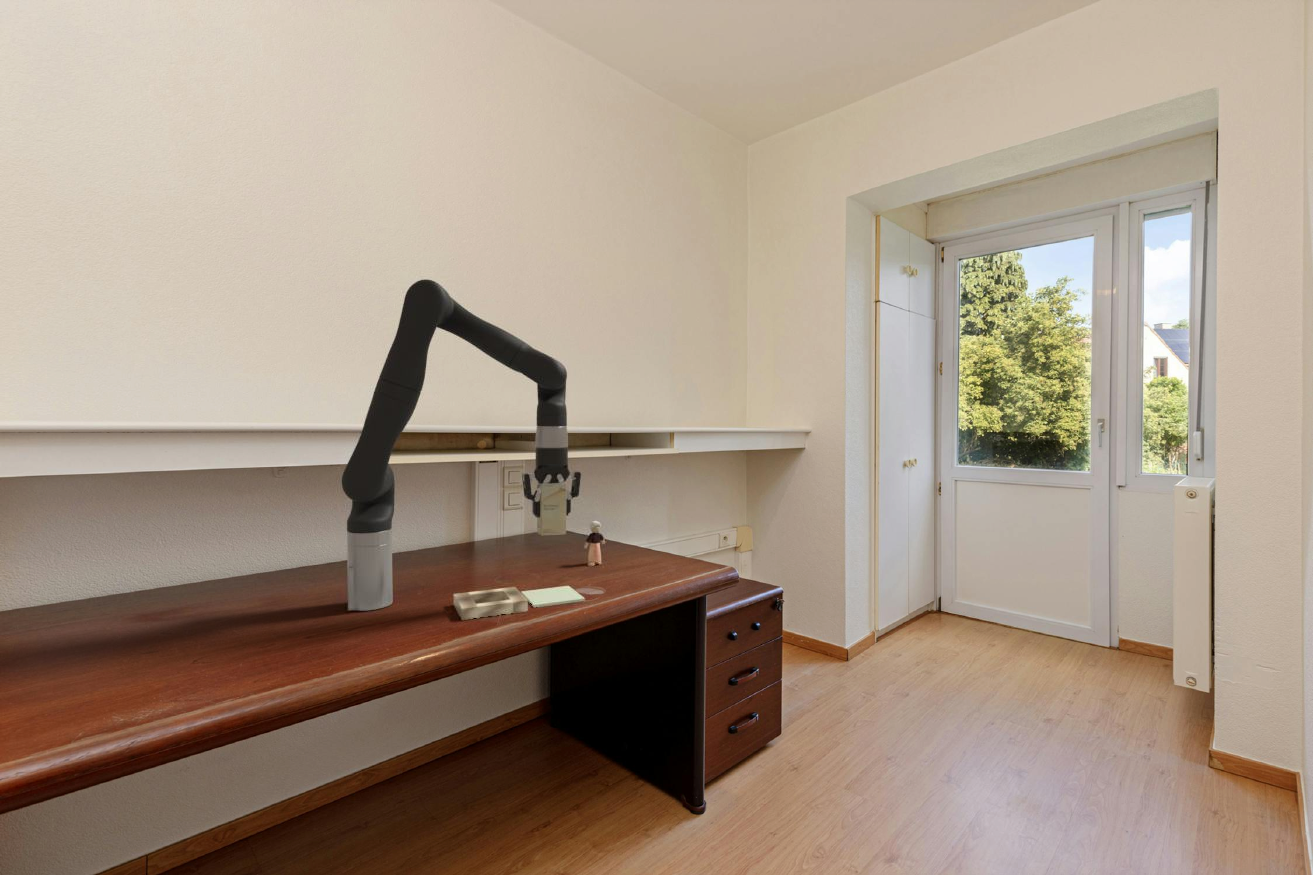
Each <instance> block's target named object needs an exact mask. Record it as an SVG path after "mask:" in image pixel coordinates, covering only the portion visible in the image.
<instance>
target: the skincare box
mask: <svg viewBox="0 0 1313 875" xmlns="http://www.w3.org/2000/svg"><path fill="white" fill-rule="evenodd" d="M537 485H538V487H539V488H540V486H541V498H540V500H539V502H540V517H539V518H537V517H536V533H537V534H538V535H540V536H557V535H560V536H561V535H566V534H567V516H566V494H567V487H568V485H567V482H565V483H548V484H542V483H539V482H538V481H537Z"/></svg>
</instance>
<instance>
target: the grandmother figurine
mask: <svg viewBox="0 0 1313 875" xmlns="http://www.w3.org/2000/svg"><path fill="white" fill-rule="evenodd" d="M601 527H602V524H601V522H600V521H597V520H593V521H592V522H590V523H589V529H590V531H591V533H589V535H588V537H586V539H585V542H584V545H583V548H584V549H588V553H587V554H588V556H587V557H588V559H587V566H589V567H593V566H594V565H595V566H596V565H597V564H599V565H602V553H601V546H600V545H601V544H602V545H605V544H606V540H605V537H604V535H603V534H602V533H600V530H601ZM588 546H589V548H588Z"/></svg>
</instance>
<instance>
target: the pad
mask: <svg viewBox="0 0 1313 875" xmlns="http://www.w3.org/2000/svg"><path fill="white" fill-rule="evenodd" d="M520 593H521V594H522V595H523V596H524V597H525V598H526V599H527V600H528V604H530V603H531V604H532V605H531V604H530V605H531V606H532V607H533V608H534V609H535V608H536V607H537V608H542V607H550V606H556V605H565V604H572V603H579V602H585V601H586V598H585V597H584V596H583V595H581V594H580V593H579V592H577V591H576V590H575V589H574V588H572V587H571V586H569V585H563V586H555V587H547V588H537V589H531V590H524V591H523V590H522V591H520Z"/></svg>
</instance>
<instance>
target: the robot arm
mask: <svg viewBox="0 0 1313 875" xmlns="http://www.w3.org/2000/svg"><path fill="white" fill-rule="evenodd" d="M403 300H404V301H403V303H402V308H401V313H400V318H399V322H398V326H397V330H396V333H395V337H394V338H393V342H392V344H391V347H390V349H389V350H388V353H387V356H386V358H385V361H384V364H383V366H382V369H381V371H380V375H379V377H378V380H377V382H376V386H375V388H374V392H373V393H372V394H373V395H372V397H371V398H372V399H371V402H370V404H369V407H368V410H367V413H366V416H365V420H364V423H363V427H362V429H361V433H360V436H359V438H358V441H357V444H356V445H355V447H354V449H353V452H352V454H351V455H350V457H349V460H348V462H347V464H346V465H345V468H344V471H343V472H342V475H341V476H342V477H341V487H342V490H343V491H342V492H343V493H344V495H346V496H347V498H349V499H350V500H351V501H352V502H351V505H352V506H351V510H350V513H349V516H348V517H347V520H346V540H347V541H346V542H347V545H346V546H347V547H346V550H347V552H346V555H347V556H346V557H347V559H346V560H347V565H346V566H347V572H346V573H347V611H361V612H362V611H374V610H378V609H383V608H386V607H388V606H391V605H392V604H393V602H394V601H393V599H394V598H393V594H394V592H393V533H392V532H393V529H392V528H393V525H392V523H393V518H394V515H395V514H394V512H395V495H396V494H395V493H396V492H395V489H396V488H395V475H394V472H393V469H392V467H391V466H390V464H389V462H390V459H391V455H392V452H393V450H394V447H395V444H396V442H397V441H398V439H399V437H400V436H401V434H402V433H403V431H404V429H405V428H406V426H407V424H408V423H409V421H410V420H411V417H412V416H413V414H414V411H415V410H416V408H417V406H418V402H419V398H420V396H421V393H422V391H423V386H424V383H425V376H426V371H427V361H428V353H429V347H430V344H431V342H432V339H433V337H434V334H435V332H436V330H437V328H438V329H441V330H443V331H446V332H448V333H449V334H453V335H454V336H457V337H458V338H460V339H462V340H464V341H466V342H468V343H469V344H470V345H472V346H473V347H475V348H476V349H478V350H479V351H481V352H483V353H484V354H485V355H487V356H488V357H490V358H492V359H493V360H495V361H496V362H499V363H500V364H502V365H503V366H504V367H507V368H509V369H511V371H514V372H517V373H519V374H522V376H524V377H526V378H527V379H530V380H531V381H533V382H534V383H536V386H537V388H536V390H537V406H536V431H535V440H534V445H535V469H534V471H533V472H528V473H526V472H522V474H521V479H522V488H523V496H524V498H525V499H527V500H530V501H531V502H532V503H531V504H532V509H531V510H532V515H534V517H535V518H536V519H537V518H539V517H540V502H539V500H540V498H541V486H540V488H539V487H538V484H537V485H536V487H535V489H534V492H533V491H532V485H531V483H532V482H533V479H534V478H535V480H536V481H537V483H538V482H539V483H542V484H548V483H566V481H567V479H568V478H569V479H570V481H571V489H570V491H569V487H568V486H567V494H566V517H568V516H569V514H570V513H571V512H572V506H571V505H572V502H571V501H572V499H574V498H577V497H579V495H580V487H581V477H582V474H581V473H582V472H580V471H578V470H577V471H575V470H574V471H571V470H570V469H569V465H568V464H569V463H568V462H569V436H568V427H567V426H568V422H567V421H568V420H567V418H568V417H567V416H568V413H567V405H566V398H567V397H566V396H567V394H566V393H567V379H568V372H567V369H566V367H565V365H564V364H563V363H562V362H560V361H559V360H558V359H556V358H553V357H552V356H550V355H548V354H546V353H544V352H542V351H539V350H537V349H535V348H534V347H532V346H531V345H530V344H528V343H526V342H525V341H523V340H522V339H520V338H519V337H517V336H516V335H514V334H512V333H510V332H508V331H506V330H505V329H503V328H501V327H499V326H498V325H497V326H496V325H495V324H492V323H490V322H488V321H486V320H484V319H483V318H480V317H479V316H477V315H475V314H473V313H472V312H471V311H469V310H468V309H466V308H465V307H463V306H462V305H461V304H460V303H459V302H458V301H456V300H455V299H454V298H453V297H451V296H450V294H449V293H448V291H447V290H446V289H445V288H444V287H443V286H442V285H441V284H440V283H438V282H436V281H435V280H432V279H426V278H425V279H420V280H418V281H416V282H414V283H413V284H411V285H410V287H409V288H408V289H407V291H406V293H405V296H404V299H403ZM532 492H533V493H532Z"/></svg>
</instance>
